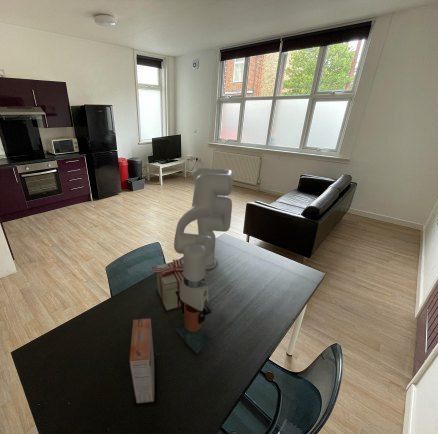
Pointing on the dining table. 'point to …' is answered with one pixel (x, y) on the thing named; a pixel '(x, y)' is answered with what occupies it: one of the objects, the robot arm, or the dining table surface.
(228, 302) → the dining table surface
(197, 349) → the terrain model
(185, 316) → the cup
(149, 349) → the cracker box
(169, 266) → the gift box
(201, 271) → the robot arm
